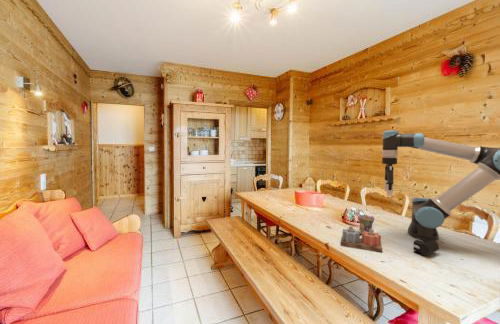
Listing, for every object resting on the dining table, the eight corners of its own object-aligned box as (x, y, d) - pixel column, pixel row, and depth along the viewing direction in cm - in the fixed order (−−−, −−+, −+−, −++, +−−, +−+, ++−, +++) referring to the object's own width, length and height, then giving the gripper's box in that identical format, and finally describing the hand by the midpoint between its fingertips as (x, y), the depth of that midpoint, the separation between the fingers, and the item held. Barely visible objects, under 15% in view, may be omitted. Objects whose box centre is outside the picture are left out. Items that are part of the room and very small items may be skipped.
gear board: (380, 244, 129) (381, 227, 129) (382, 252, 120) (382, 233, 120) (341, 238, 138) (342, 222, 137) (340, 245, 129) (341, 227, 128)
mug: (377, 236, 141) (378, 219, 141) (364, 237, 140) (364, 220, 139) (364, 229, 153) (364, 213, 152) (351, 230, 151) (351, 214, 150)
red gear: (375, 239, 131) (375, 231, 131) (383, 246, 122) (383, 237, 122) (359, 239, 132) (359, 231, 131) (366, 246, 123) (366, 237, 122)
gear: (359, 238, 133) (359, 229, 133) (359, 244, 125) (359, 235, 125) (343, 235, 137) (343, 227, 137) (341, 241, 129) (342, 232, 129)
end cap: (428, 258, 114) (429, 245, 113) (412, 252, 120) (413, 240, 119) (438, 254, 118) (439, 241, 118) (423, 248, 125) (423, 236, 124)
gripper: (380, 156, 149) (379, 189, 150) (384, 158, 126) (382, 197, 128) (394, 156, 145) (393, 189, 147) (400, 158, 123) (398, 198, 124)
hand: (388, 193), depth 137 cm, fingers open, 13 cm apart
